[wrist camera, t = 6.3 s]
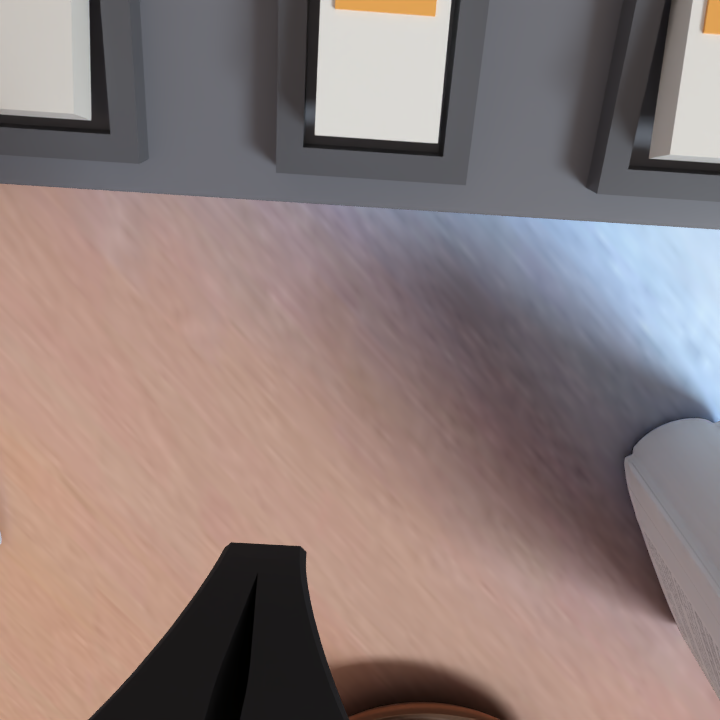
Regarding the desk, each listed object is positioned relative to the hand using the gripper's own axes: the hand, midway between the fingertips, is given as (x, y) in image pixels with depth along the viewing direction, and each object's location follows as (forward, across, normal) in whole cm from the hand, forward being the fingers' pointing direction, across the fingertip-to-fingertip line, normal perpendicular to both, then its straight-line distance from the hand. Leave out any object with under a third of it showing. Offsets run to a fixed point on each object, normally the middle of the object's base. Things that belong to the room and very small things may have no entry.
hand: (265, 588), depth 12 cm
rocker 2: (+7, -9, -9) cm, 14 cm away
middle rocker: (+7, -2, -9) cm, 11 cm away
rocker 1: (+6, +6, -9) cm, 13 cm away
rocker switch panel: (+11, -4, -9) cm, 14 cm away
